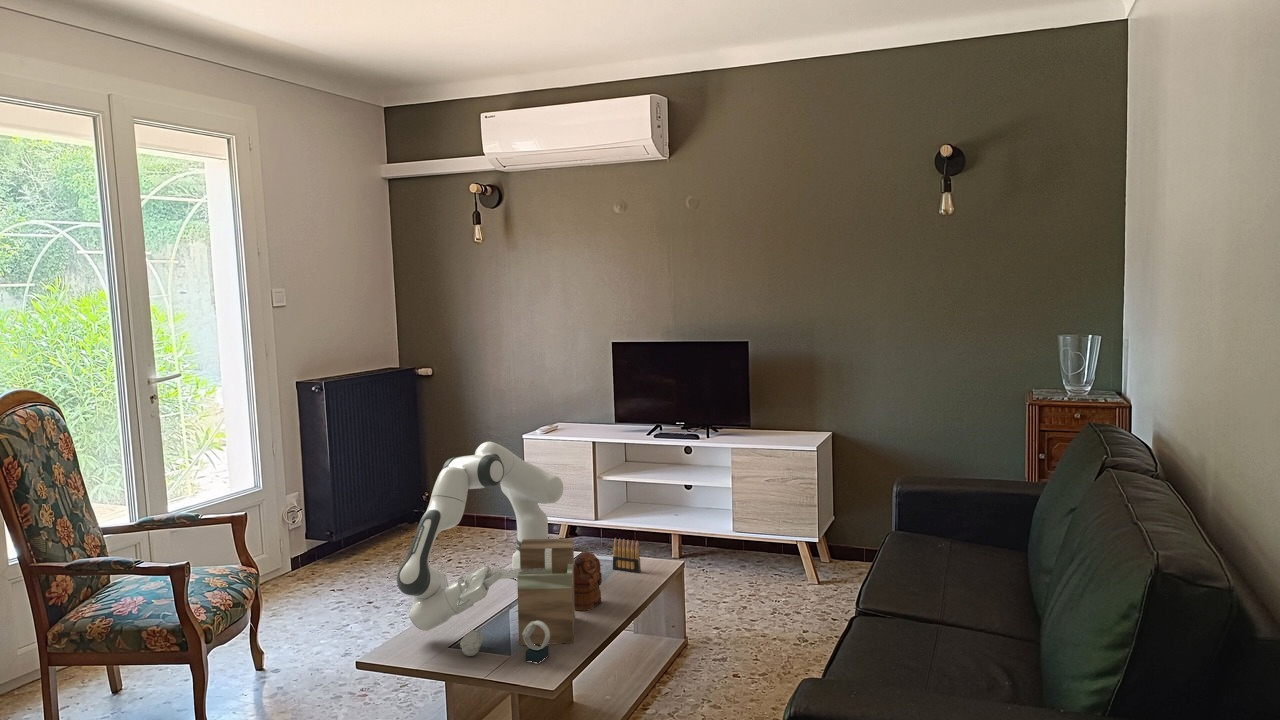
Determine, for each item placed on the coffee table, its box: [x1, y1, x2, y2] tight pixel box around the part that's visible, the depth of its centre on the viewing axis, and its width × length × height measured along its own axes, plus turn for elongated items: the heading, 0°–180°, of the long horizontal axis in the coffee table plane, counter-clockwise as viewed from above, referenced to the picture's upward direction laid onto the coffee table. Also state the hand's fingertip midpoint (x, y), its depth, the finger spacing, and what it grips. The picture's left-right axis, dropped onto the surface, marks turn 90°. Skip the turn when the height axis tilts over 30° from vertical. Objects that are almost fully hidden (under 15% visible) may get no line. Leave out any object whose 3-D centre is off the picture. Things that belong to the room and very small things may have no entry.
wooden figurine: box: [574, 551, 603, 611], centre depth 291 cm, size 12×6×18 cm, turn 148°
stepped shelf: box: [516, 537, 576, 646], centre depth 270 cm, size 20×16×26 cm
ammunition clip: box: [612, 537, 642, 574], centre depth 325 cm, size 11×2×12 cm, turn 67°
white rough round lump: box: [459, 629, 484, 657], centre depth 254 cm, size 6×7×7 cm
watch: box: [522, 620, 550, 663], centre depth 250 cm, size 6×8×11 cm
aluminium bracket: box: [491, 548, 552, 580], centre depth 263 cm, size 3×18×8 cm, turn 93°
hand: (501, 572), depth 263 cm, fingers closed on aluminium bracket, 3 cm apart
